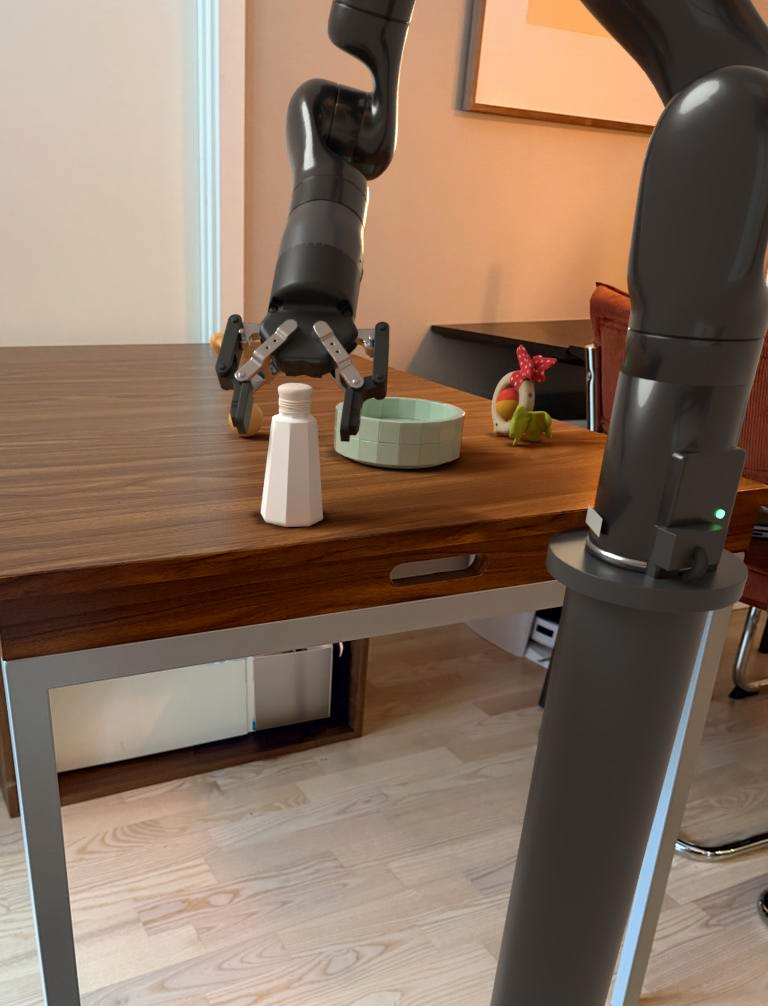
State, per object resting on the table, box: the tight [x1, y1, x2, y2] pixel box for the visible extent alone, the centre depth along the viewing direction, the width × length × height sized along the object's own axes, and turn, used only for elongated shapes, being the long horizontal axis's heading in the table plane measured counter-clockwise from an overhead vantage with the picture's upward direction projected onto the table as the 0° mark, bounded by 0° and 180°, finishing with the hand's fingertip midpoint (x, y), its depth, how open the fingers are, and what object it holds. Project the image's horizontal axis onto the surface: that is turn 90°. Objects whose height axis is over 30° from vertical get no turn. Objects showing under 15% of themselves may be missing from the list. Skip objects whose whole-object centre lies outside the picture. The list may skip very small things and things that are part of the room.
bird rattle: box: [491, 344, 558, 446], centre depth 101 cm, size 6×11×9 cm
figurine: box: [209, 330, 264, 438], centre depth 98 cm, size 8×6×12 cm
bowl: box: [333, 396, 466, 470], centre depth 93 cm, size 14×14×5 cm
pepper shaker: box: [260, 382, 324, 528], centre depth 71 cm, size 5×5×11 cm
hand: (292, 432), depth 70 cm, fingers open, 8 cm apart
